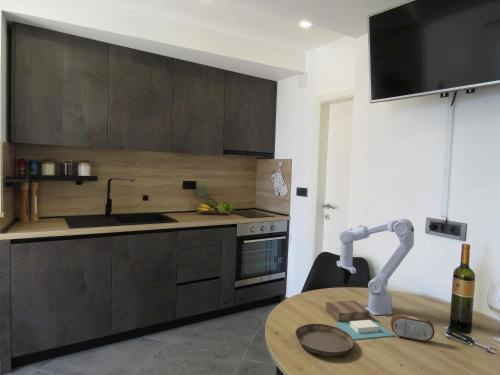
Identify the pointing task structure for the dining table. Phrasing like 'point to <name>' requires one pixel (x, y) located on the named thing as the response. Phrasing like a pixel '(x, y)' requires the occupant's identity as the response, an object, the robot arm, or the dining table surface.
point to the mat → (356, 336)
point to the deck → (347, 311)
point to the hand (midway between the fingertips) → (345, 283)
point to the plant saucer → (324, 339)
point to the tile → (364, 326)
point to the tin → (412, 327)
